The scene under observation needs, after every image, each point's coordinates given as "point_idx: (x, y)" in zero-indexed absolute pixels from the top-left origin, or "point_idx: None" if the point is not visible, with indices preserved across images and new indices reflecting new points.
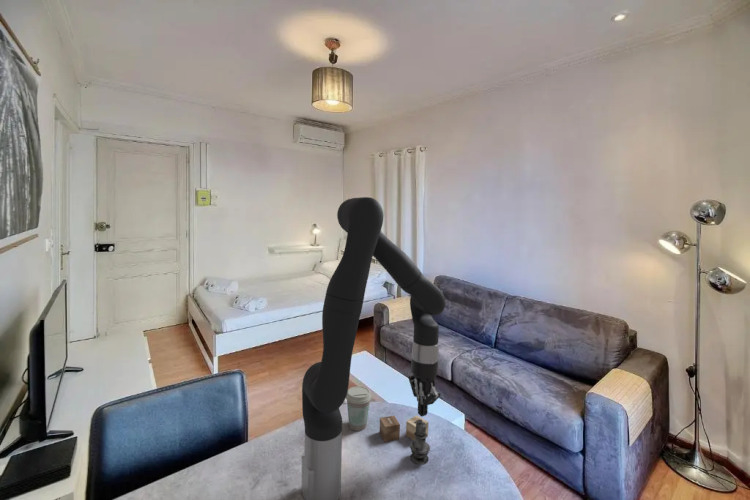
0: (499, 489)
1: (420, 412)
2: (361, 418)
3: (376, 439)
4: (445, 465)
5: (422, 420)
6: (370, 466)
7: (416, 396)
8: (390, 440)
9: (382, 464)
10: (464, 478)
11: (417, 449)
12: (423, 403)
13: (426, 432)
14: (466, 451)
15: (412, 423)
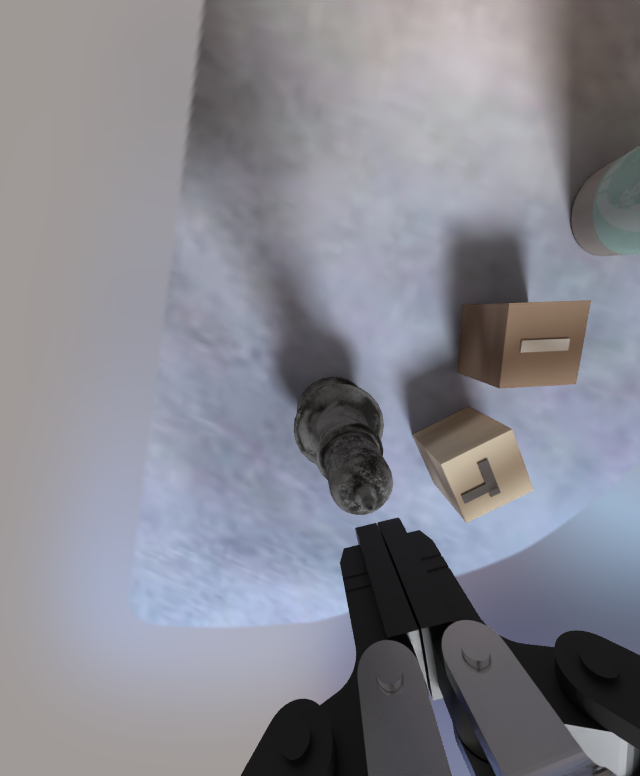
0: (145, 595)
1: (365, 548)
2: (633, 191)
3: (487, 273)
4: (275, 485)
5: (487, 501)
6: (336, 191)
7: (555, 660)
8: (461, 332)
9: (335, 250)
10: (205, 519)
11: (317, 409)
12: (359, 693)
13: (440, 487)
14: (323, 575)
15: (483, 450)
